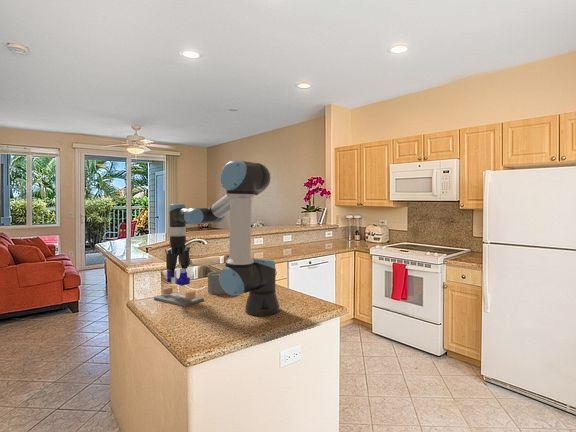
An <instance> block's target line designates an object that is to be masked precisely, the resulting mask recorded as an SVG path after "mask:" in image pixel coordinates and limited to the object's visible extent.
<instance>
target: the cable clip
mask: <svg viewBox="0 0 576 432" xmlns="http://www.w3.org/2000/svg"><path fill="white" fill-rule="evenodd" d="M190 279H191V278H190V277H188V272H187V271H186V272H182V273H180V272H179V276H178V277H177V276H176V284H175V285H178V286H188V285H191V282H190V281H191V280H190ZM166 282H167V283H171V277H170V270H167V269H166Z"/></svg>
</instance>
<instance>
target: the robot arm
mask: <svg viewBox="0 0 576 432" xmlns="http://www.w3.org/2000/svg"><path fill="white" fill-rule="evenodd" d="M270 183H271V172H270V170H269V168H267V166H265V165H264V164H262V163H259V162H253V161H244V160H231V161H228V162H227V163H225V166H223V168H222V169H221V173H220V185H221V186H222V188H224V189H225V190H226V194H225V195H224V196H222V197H221V198H220V199H218V200H217V201H216V202H214V203H213V204H212V205H210V206H208V207H189V208H188V207H187V208H186V204H185V203H171V204H169V210H168V212H169V213H168V214H169V235H170V236H169V244H170V247H169V248H168V249H167V248H166V249H165V250H164V251H165V257H166V258H165V260H166V263H165V264H166V267H165V268H166V271H167V270H170V277H171V284H173V285H177V284H176V277H177V270H176V267H177V260H178V258H179V263H180V268H179V274H180V273H182V272H187V269H188V267H189V266H190V249H191V247H190V246H186V245H187V244H186V242H187V239H186V238H187V236H186V233H187V232H186V231H187V229H186V228H187V226H186V224H187V225H191V226H193V225H201V224H216V223H220V222H223V221H224V218H225V215H227V214H228V213H229V244H228V245H229V253H228V254H229V255H228V258H227V259H226V260H225V267H224V268H222V269H221V270H220V271H219V272H220V274H219V281H220V285H221V287H222V288H223V290H224V291H225V292H226V293H225V294H227V295H229V296H241V295H243V294H247V293H248V297H247V300H246V303H245V307H244V308H245V309H244V311H245V313H246V314H248V315H251V316H256V317H259V316H260V317H263V316H264V317H265V316H273V315H276V314H278V313H279V312H280V303H279V300H278V297H277V294H276V292H277V291H276V285H277V283H276V275H277V274H276V273H277V271H276V270H277V268H276V263H275V261H274V260H273V259H266V258H253V257H251V246H252V245H251V242H252V240H251V239H252V238H251V237H252V236H251V235H252V199H253V198H254V197H255V196H258V195H259V194H261V193H263V192H264V191H265V190H266V189H267V188H268V187H269V185H270Z"/></svg>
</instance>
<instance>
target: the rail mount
mask: <svg viewBox="0 0 576 432" xmlns="http://www.w3.org/2000/svg"><path fill="white" fill-rule="evenodd" d="M154 299H157V300H156V301H158V300H160V301H159V302H162V301H163V303H166V302H167V304H171V305H176V306H180V307H185V308H186V307H189V306H191V305H196V304H197V303H200V302H203V301H205V298H204V297H200V296H197V295H196V291H193V290H192V291H190V292H185V293H181V292H174V291H173V287H172V286H169V287H164V288H162V290H161V293H160V295H157V296H154V297H153V300H154Z"/></svg>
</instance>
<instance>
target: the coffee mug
mask: <svg viewBox="0 0 576 432" xmlns="http://www.w3.org/2000/svg"><path fill="white" fill-rule="evenodd" d="M220 272H221V271H212V272H208V273H207V293H208V294H209V295H222V294H227V293H226V292H225V291H224V290H223V288H222V287H221V285H220V281H219V274H220Z"/></svg>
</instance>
